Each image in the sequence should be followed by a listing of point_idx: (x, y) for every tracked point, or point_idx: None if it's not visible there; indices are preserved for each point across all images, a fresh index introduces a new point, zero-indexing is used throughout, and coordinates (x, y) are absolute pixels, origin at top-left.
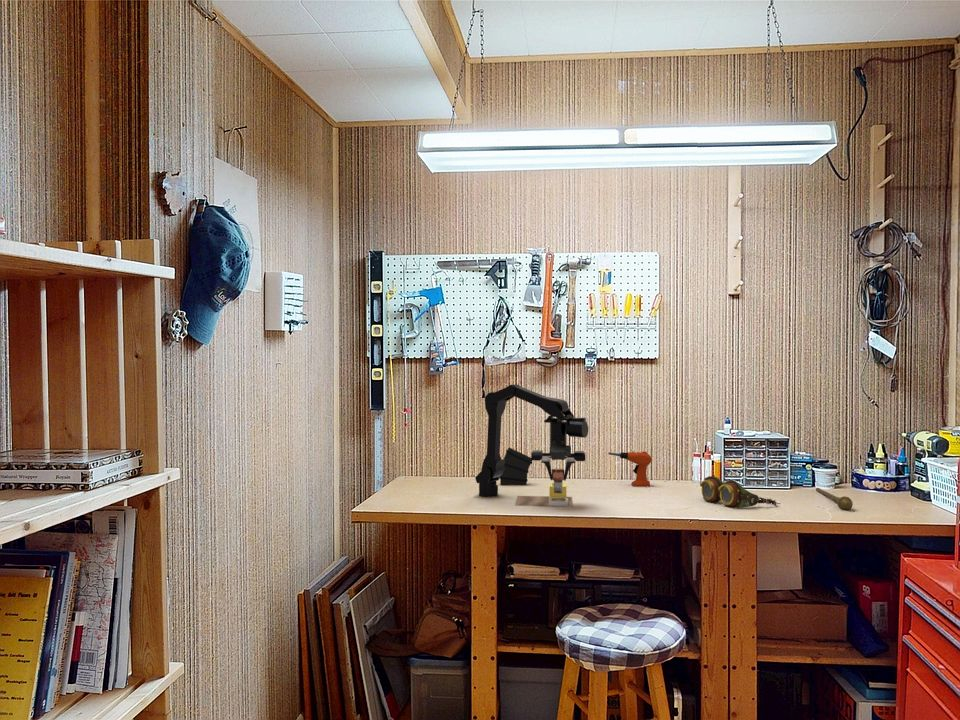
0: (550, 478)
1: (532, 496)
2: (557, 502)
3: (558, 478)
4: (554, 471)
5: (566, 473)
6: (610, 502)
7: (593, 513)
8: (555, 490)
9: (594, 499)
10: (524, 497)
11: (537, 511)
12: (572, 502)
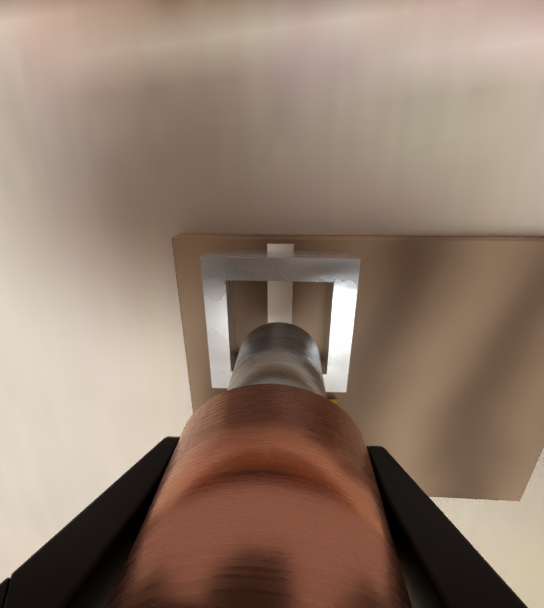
0: (397, 464)
1: (430, 488)
2: (287, 255)
3: (263, 409)
4: (365, 581)
5: (80, 534)
6: (5, 429)
7: (25, 134)
8: (306, 343)
9: (97, 481)
10: (486, 467)
11: (445, 164)
12: (187, 357)
